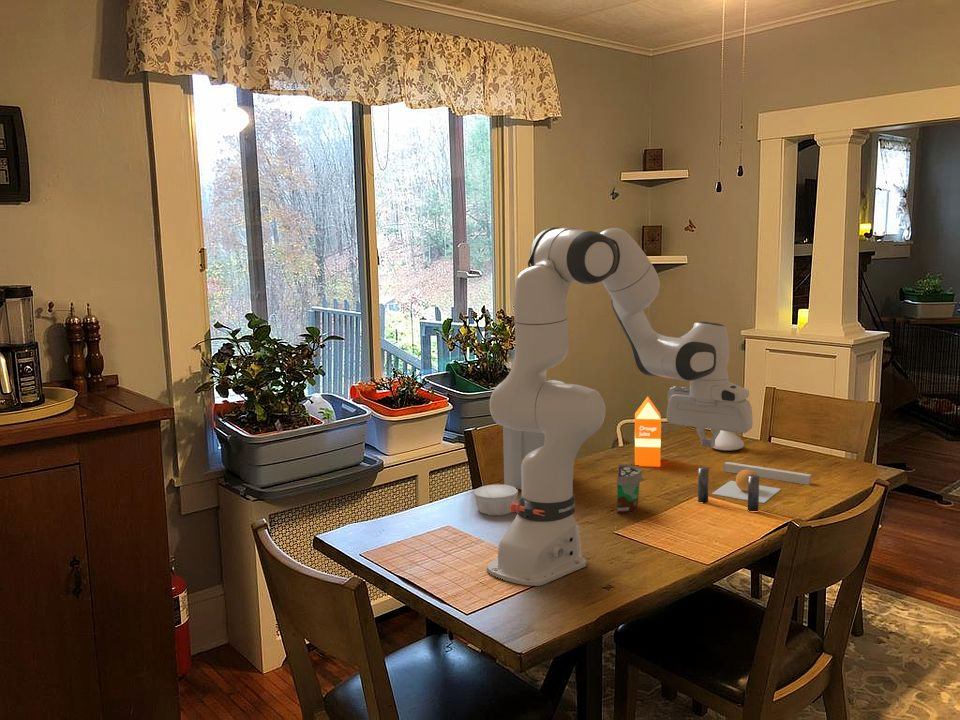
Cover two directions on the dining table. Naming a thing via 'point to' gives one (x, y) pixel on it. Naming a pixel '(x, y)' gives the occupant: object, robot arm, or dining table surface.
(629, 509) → the food container
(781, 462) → the dining table surface
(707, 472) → the left post
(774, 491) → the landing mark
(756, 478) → the right post
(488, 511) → the ramekin
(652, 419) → the orange juice
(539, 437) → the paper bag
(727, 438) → the flower in vase
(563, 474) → the robot arm
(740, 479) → the ball
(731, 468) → the wall
